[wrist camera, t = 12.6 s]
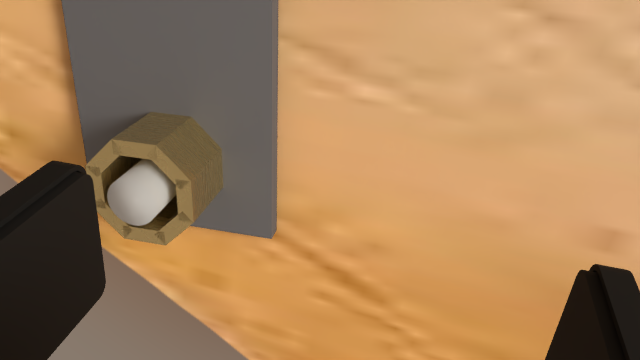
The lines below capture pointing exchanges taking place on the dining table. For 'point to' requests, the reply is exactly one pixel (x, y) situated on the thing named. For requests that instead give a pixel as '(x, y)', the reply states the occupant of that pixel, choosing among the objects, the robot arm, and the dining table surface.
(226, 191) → the piston stand
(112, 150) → the brass ring
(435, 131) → the dining table surface
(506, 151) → the dining table surface
